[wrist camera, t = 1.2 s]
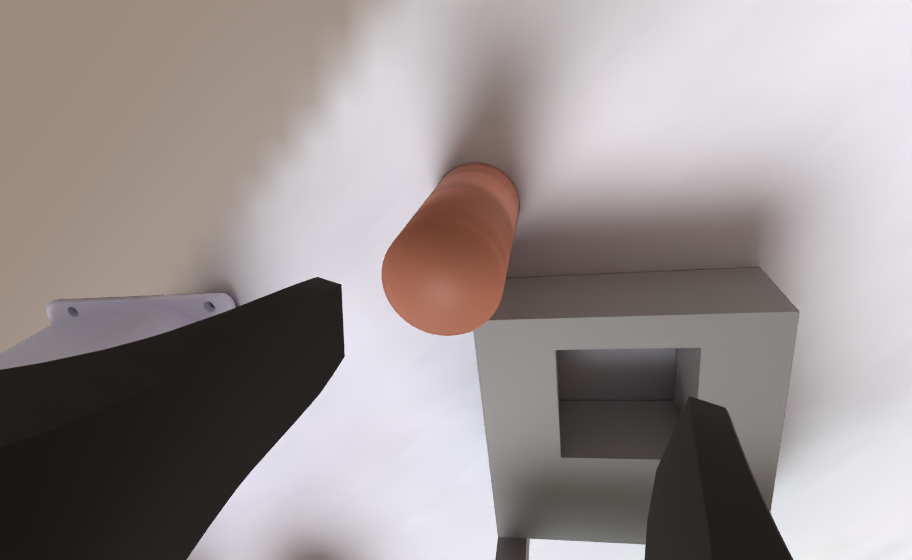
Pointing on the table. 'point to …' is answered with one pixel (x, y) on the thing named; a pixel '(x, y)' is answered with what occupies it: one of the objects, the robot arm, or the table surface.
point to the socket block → (622, 421)
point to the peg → (454, 252)
